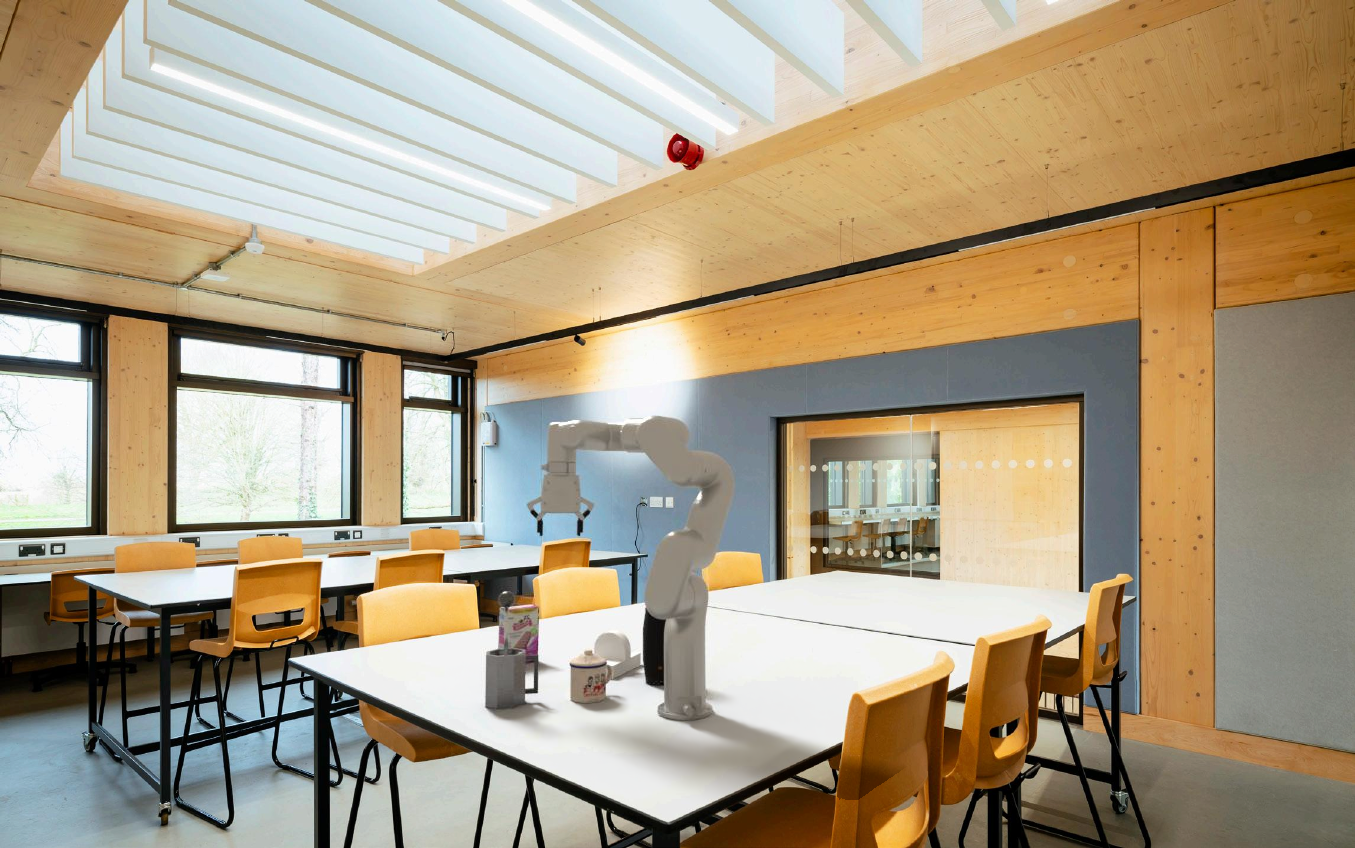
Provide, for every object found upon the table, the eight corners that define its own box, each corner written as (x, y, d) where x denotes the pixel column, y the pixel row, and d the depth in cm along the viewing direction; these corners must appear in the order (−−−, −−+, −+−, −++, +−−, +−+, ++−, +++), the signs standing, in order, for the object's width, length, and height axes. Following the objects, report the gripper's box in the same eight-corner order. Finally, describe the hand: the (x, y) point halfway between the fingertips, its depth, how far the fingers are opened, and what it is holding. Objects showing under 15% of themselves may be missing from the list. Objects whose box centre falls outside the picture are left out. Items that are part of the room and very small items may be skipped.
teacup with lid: (585, 706, 176) (585, 655, 177) (561, 699, 182) (562, 650, 183) (623, 696, 184) (623, 647, 185) (599, 689, 191) (599, 642, 192)
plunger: (518, 661, 177) (519, 592, 179) (492, 663, 176) (493, 593, 177) (518, 656, 183) (519, 589, 184) (493, 657, 181) (494, 590, 183)
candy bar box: (505, 667, 215) (506, 609, 217) (497, 664, 219) (498, 607, 221) (539, 661, 223) (539, 605, 224) (531, 658, 226) (531, 603, 228)
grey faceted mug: (538, 706, 176) (539, 654, 177) (484, 710, 173) (485, 657, 174) (536, 696, 185) (537, 646, 186) (485, 699, 182) (486, 649, 183)
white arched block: (613, 680, 201) (613, 638, 202) (581, 676, 205) (581, 635, 206) (641, 665, 218) (641, 626, 219) (611, 662, 221) (611, 624, 222)
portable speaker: (670, 687, 192) (669, 610, 193) (637, 684, 195) (636, 608, 197) (682, 679, 200) (681, 605, 201) (650, 676, 203) (649, 604, 205)
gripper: (527, 468, 189) (526, 537, 187) (596, 469, 192) (594, 536, 191) (527, 469, 196) (525, 534, 195) (593, 470, 199) (592, 534, 198)
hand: (559, 535), depth 193 cm, fingers open, 9 cm apart
